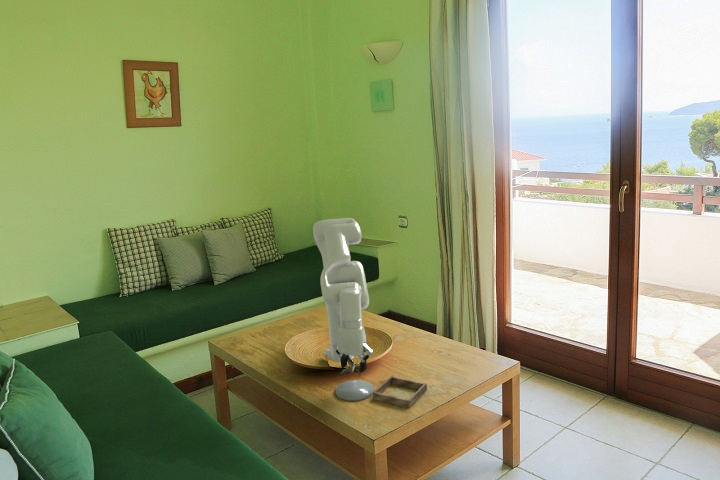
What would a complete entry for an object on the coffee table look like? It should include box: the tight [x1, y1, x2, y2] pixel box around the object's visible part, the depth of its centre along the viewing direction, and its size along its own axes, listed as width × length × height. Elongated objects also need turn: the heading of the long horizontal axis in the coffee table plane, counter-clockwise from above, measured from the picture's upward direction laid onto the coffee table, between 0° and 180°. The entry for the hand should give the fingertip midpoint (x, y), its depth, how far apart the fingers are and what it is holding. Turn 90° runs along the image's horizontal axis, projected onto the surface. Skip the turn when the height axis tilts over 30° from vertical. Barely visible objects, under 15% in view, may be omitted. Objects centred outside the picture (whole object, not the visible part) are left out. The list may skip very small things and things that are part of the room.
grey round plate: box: [335, 379, 375, 402], centre depth 214 cm, size 14×14×1 cm
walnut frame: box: [372, 375, 428, 409], centre depth 210 cm, size 15×14×2 cm
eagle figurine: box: [339, 355, 362, 377], centre depth 212 cm, size 8×7×9 cm
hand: (353, 368), depth 212 cm, fingers closed on eagle figurine, 7 cm apart
